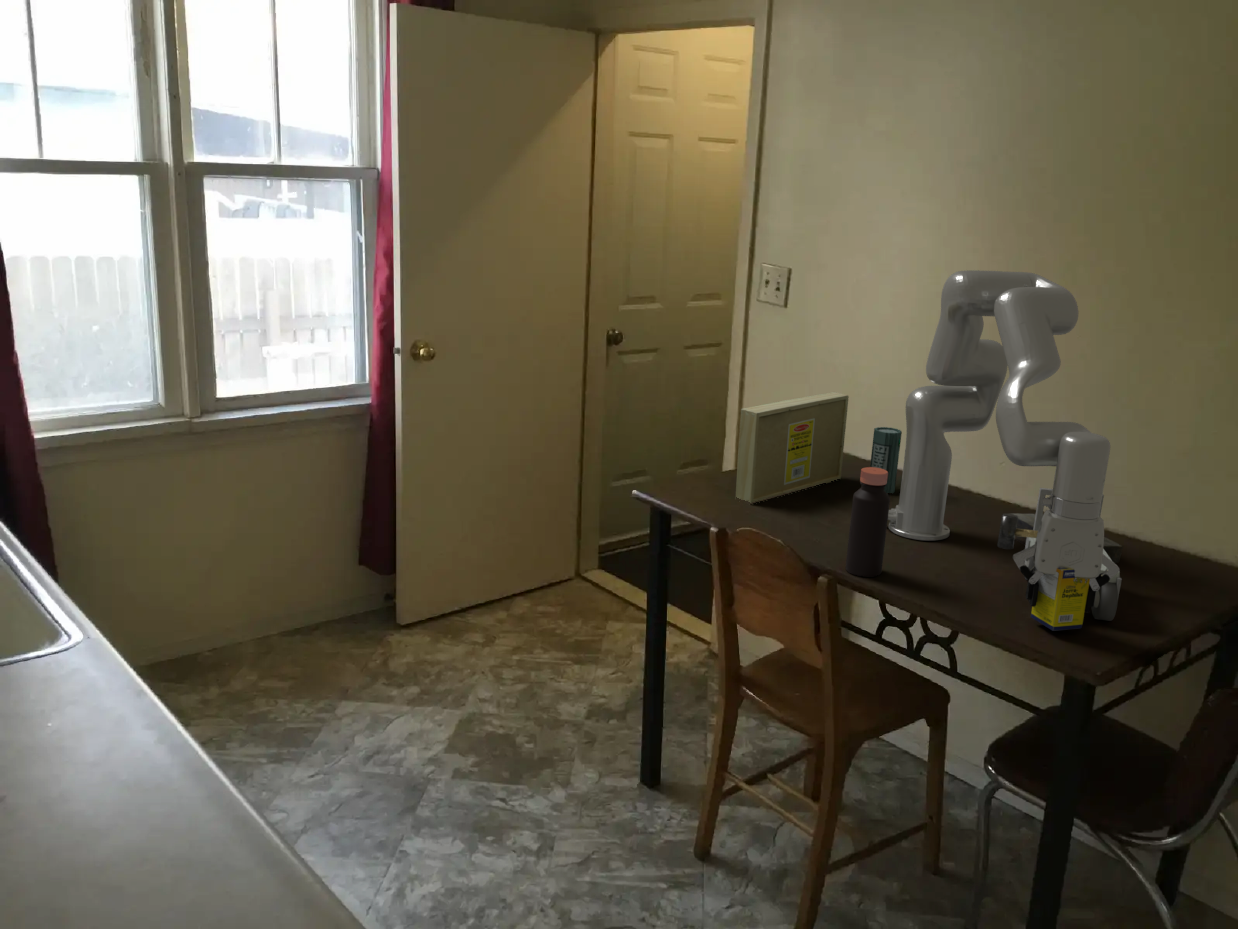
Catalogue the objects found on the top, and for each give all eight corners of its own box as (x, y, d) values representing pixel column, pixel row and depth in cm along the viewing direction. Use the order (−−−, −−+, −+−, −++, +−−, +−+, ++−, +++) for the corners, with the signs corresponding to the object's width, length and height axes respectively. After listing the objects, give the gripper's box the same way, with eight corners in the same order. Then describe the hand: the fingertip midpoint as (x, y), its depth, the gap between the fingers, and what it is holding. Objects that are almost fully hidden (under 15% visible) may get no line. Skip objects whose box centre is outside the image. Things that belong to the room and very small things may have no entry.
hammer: (998, 548, 192) (1003, 517, 191) (996, 543, 195) (1000, 512, 193) (1069, 555, 190) (1075, 524, 188) (1066, 550, 193) (1071, 520, 191)
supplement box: (1082, 629, 175) (1093, 567, 172) (1052, 631, 173) (1062, 570, 170) (1059, 614, 180) (1069, 555, 177) (1029, 617, 179) (1038, 557, 176)
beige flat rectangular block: (825, 476, 263) (834, 391, 257) (841, 480, 259) (850, 394, 253) (733, 500, 239) (741, 408, 234) (749, 505, 236) (756, 412, 230)
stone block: (1064, 568, 206) (1069, 544, 205) (1003, 535, 224) (1007, 513, 223) (1121, 565, 210) (1126, 541, 209) (1057, 532, 228) (1061, 510, 227)
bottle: (878, 580, 195) (890, 477, 189) (841, 573, 197) (852, 472, 192) (884, 568, 201) (896, 468, 196) (848, 562, 203) (859, 463, 198)
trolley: (1039, 618, 181) (1055, 520, 176) (1018, 571, 203) (1032, 482, 198) (1116, 627, 178) (1135, 528, 174) (1087, 579, 200) (1103, 489, 195)
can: (898, 490, 252) (905, 430, 248) (886, 495, 248) (893, 434, 244) (875, 485, 256) (882, 425, 252) (863, 490, 252) (870, 429, 248)
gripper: (1022, 508, 169) (1007, 609, 174) (1137, 520, 166) (1118, 622, 171) (1015, 495, 176) (1001, 592, 181) (1125, 506, 173) (1108, 604, 178)
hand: (1058, 606), depth 176 cm, fingers closed on supplement box, 7 cm apart
